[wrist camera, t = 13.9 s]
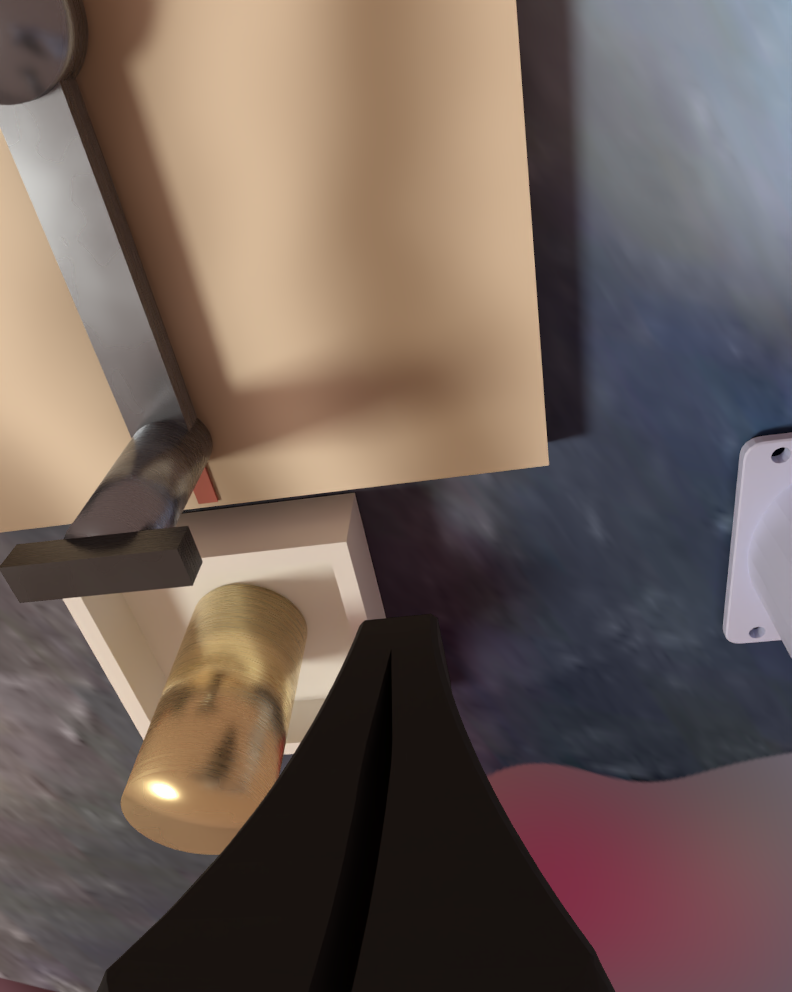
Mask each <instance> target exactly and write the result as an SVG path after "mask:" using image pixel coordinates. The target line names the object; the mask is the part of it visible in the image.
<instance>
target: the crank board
mask: <svg viewBox="0 0 792 992" xmlns="http://www.w3.org/2000/svg"><path fill="white" fill-rule="evenodd" d="M83 4H84V7H85V11H86V16H87V22H88V47H87V53H86V57H85V60H84V64H83V66H82V68H81V70H80V72H79V74H78V75H77V77H76V81H77V83H78V86H79V89H80V92H81V94H82V97H83V100H84V103H85V106H86V108H87V111H88V114H89V117H90V120H91V122H92V125H93V128H94V131H95V134H96V136H97V139H98V142H99V145H100V147H101V150H102V153H103V156H104V159H105V161H106V164H107V167H108V170H109V173H110V175H111V178H112V181H113V184H114V187H115V189H116V192H117V195H118V198H119V200H120V203H121V206H122V209H123V212H124V214H125V217H126V220H127V223H128V226H129V228H130V231H131V234H132V237H133V239H134V242H135V245H136V248H137V251H138V253H139V256H140V259H141V262H142V265H143V267H144V270H145V273H146V276H147V279H148V281H149V284H150V287H151V290H152V292H153V295H154V298H155V301H156V304H157V306H158V309H159V312H160V315H161V318H162V320H163V323H164V326H165V329H166V332H167V334H168V337H169V340H170V343H171V345H172V348H173V351H174V354H175V357H176V359H177V362H178V365H179V368H180V371H181V373H182V376H183V379H184V382H185V384H186V387H187V390H188V393H189V396H190V398H191V401H192V404H193V407H194V410H195V412H196V415H197V418H198V419H200V420H201V421H202V422H203V423H204V424H205V426H206V427H207V429H208V430H209V432H210V434H211V437H212V442H213V449H212V453H211V456H210V458H209V460H208V462H207V464H206V466H205V468H204V470H203V472H202V474H201V476H200V478H199V480H198V482H197V484H196V486H195V488H194V490H193V492H192V494H191V496H190V498H189V500H188V502H187V504H186V506H185V508H184V510H187V509H196V508H204V507H212V506H220V505H228V504H237V503H245V502H253V501H261V500H269V499H277V498H286V497H294V496H302V495H310V494H318V493H327V492H335V491H343V490H351V489H359V488H368V487H376V486H384V485H392V484H400V483H408V482H417V481H425V480H433V479H441V478H449V477H458V476H466V475H474V474H482V473H490V472H498V471H507V470H515V469H523V468H531V467H539V466H548V465H549V458H548V444H547V430H546V416H545V402H544V388H543V374H542V360H541V346H540V332H539V318H538V304H537V290H536V275H535V261H534V247H533V233H532V219H531V205H530V191H529V177H528V163H527V149H526V135H525V121H524V107H523V92H522V78H521V64H520V50H519V36H518V22H517V8H516V0H83ZM131 439H132V438H131V436H130V434H129V431H128V429H127V426H126V424H125V422H124V419H123V417H122V415H121V412H120V410H119V408H118V405H117V403H116V400H115V398H114V396H113V393H112V391H111V389H110V386H109V384H108V381H107V379H106V377H105V374H104V372H103V370H102V367H101V365H100V363H99V360H98V358H97V355H96V353H95V351H94V348H93V346H92V344H91V341H90V339H89V337H88V334H87V332H86V329H85V327H84V325H83V322H82V320H81V318H80V315H79V313H78V311H77V308H76V306H75V303H74V301H73V299H72V296H71V294H70V292H69V289H68V287H67V284H66V282H65V280H64V277H63V275H62V273H61V270H60V268H59V266H58V263H57V261H56V258H55V256H54V254H53V251H52V249H51V247H50V244H49V242H48V240H47V237H46V235H45V232H44V230H43V228H42V225H41V223H40V221H39V218H38V216H37V213H36V211H35V209H34V206H33V204H32V202H31V199H30V197H29V195H28V192H27V190H26V187H25V185H24V183H23V180H22V178H21V176H20V173H19V171H18V169H17V166H16V164H15V161H14V159H13V157H12V154H11V152H10V150H9V147H8V145H7V143H6V140H5V138H4V135H3V133H2V131H1V128H0V532H7V531H16V530H24V529H32V528H40V527H48V526H57V525H65V524H72V523H73V522H74V520H75V519H76V518H77V516H78V515H79V513H80V512H81V510H82V509H83V508H84V506H85V505H86V503H87V502H88V500H89V499H90V498H91V496H92V495H93V493H94V492H95V490H96V489H97V487H98V486H99V485H100V483H101V482H102V480H103V479H104V477H105V476H106V475H107V473H108V472H109V470H110V469H111V467H112V466H113V465H114V463H115V462H116V460H117V459H118V457H119V456H120V455H121V453H122V452H123V450H124V449H125V447H126V446H127V445H128V443H129V442H130V440H131Z"/></svg>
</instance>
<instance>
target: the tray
mask: <svg viewBox="0 0 792 992" xmlns="http://www.w3.org/2000/svg"><path fill="white" fill-rule="evenodd" d="M181 526H189V529H190V531H191V534H192V536H193V539H194V541H195V544H196V546H197V549H198V551H199V554H200V556H201V559H202V561H203V562H202V565H201V567H200V570H199V572H198V574H197V577H196V579H195V582H194V584H193V586H186V587H176V588H165V589H155V590H145V591H135V592H125V593H115V594H105V595H95V596H84V597H74V598H64V599H63V600H64V602H65V604H66V606H67V607H68V609H69V611H70V613H71V614H72V616H73V618H74V620H75V621H76V623H77V625H78V627H79V628H80V630H81V632H82V634H83V635H84V637H85V639H86V641H87V642H88V644H89V646H90V647H91V649H92V651H93V653H94V654H95V656H96V658H97V660H98V661H99V663H100V665H101V667H102V668H103V670H104V672H105V674H106V675H107V677H108V679H109V681H110V682H111V684H112V686H113V688H114V689H115V691H116V693H117V694H118V696H119V698H120V700H121V701H122V703H123V705H124V707H125V708H126V710H127V712H128V714H129V715H130V717H131V719H132V721H133V722H134V724H135V726H136V728H137V729H138V731H139V733H140V735H141V736H142V738H143V740H144V738H145V736H146V733H147V731H148V728H149V725H150V723H151V720H152V718H153V715H154V713H155V710H156V707H157V705H158V702H159V700H160V697H161V694H162V692H163V689H164V687H165V684H166V682H167V679H168V676H169V674H170V671H171V669H172V666H173V663H174V661H175V658H176V656H177V653H178V651H179V648H180V645H181V643H182V640H183V638H184V635H185V632H186V630H187V627H188V625H189V622H190V620H191V617H192V614H193V612H194V609H195V607H196V605H197V603H198V602H199V600H200V599H201V598H202V597H203V596H205V595H206V594H207V593H209V592H211V591H212V590H214V589H217V588H220V587H223V586H228V585H238V584H244V585H254V586H259V587H263V588H266V589H269V590H272V591H274V592H276V593H278V594H280V595H282V596H284V597H285V598H287V599H288V600H289V601H291V602H292V603H293V604H294V605H295V606H296V607H297V608H298V609H299V611H300V612H301V613H302V615H303V617H304V619H305V621H306V625H307V640H306V645H305V650H304V655H303V660H302V665H301V670H300V675H299V680H298V685H297V689H296V694H295V699H294V704H293V709H292V714H291V719H290V724H289V729H288V734H287V739H286V744H285V749H284V754H294V753H295V751H296V749H297V748H298V746H299V744H300V743H301V741H302V739H303V738H304V736H305V734H306V733H307V731H308V729H309V728H310V726H311V724H312V723H313V721H314V719H315V717H316V716H317V714H318V712H319V710H320V708H321V706H322V704H323V703H324V701H325V699H326V697H327V695H328V693H329V691H330V689H331V687H332V685H333V684H334V682H335V680H336V677H337V675H338V673H339V671H340V669H341V667H342V665H343V663H344V661H345V659H346V656H347V654H348V652H349V650H350V647H351V645H352V643H353V640H354V638H355V636H356V633H357V631H358V628H359V626H360V625H361V623H362V622H363V621H364V620H373V619H383V618H386V616H385V612H384V608H383V604H382V600H381V596H380V592H379V588H378V584H377V580H376V576H375V572H374V568H373V564H372V560H371V556H370V552H369V548H368V544H367V540H366V536H365V532H364V528H363V524H362V520H361V516H360V512H359V508H358V504H357V500H356V496H355V493H348V494H339V495H331V496H323V497H315V498H307V499H298V500H290V501H282V502H274V503H265V504H257V505H249V506H241V507H232V508H224V509H216V510H208V511H200V512H191V513H183V514H181V516H180V518H179V520H178V522H177V524H176V526H175V527H181Z"/></svg>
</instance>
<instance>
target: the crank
mask: <svg viewBox="0 0 792 992" xmlns="http://www.w3.org/2000/svg"><path fill="white" fill-rule="evenodd" d="M87 47H88V22H87V16H86V11H85V7H84V4H83V0H0V128H1V131H2V133H3V135H4V138H5V140H6V143H7V145H8V147H9V150H10V152H11V154H12V157H13V159H14V161H15V164H16V166H17V169H18V171H19V173H20V176H21V178H22V180H23V183H24V185H25V187H26V190H27V192H28V195H29V197H30V199H31V202H32V204H33V206H34V209H35V211H36V213H37V216H38V218H39V221H40V223H41V225H42V228H43V230H44V232H45V235H46V237H47V240H48V242H49V244H50V247H51V249H52V251H53V254H54V256H55V258H56V261H57V263H58V266H59V268H60V270H61V273H62V275H63V277H64V280H65V282H66V284H67V287H68V289H69V292H70V294H71V296H72V299H73V301H74V303H75V306H76V308H77V311H78V313H79V315H80V318H81V320H82V322H83V325H84V327H85V329H86V332H87V334H88V337H89V339H90V341H91V344H92V346H93V348H94V351H95V353H96V355H97V358H98V360H99V363H100V365H101V367H102V370H103V372H104V374H105V377H106V379H107V381H108V384H109V386H110V389H111V391H112V393H113V396H114V398H115V400H116V403H117V405H118V408H119V410H120V412H121V415H122V417H123V419H124V422H125V424H126V426H127V429H128V431H129V434H130V436H131V438H132V439H131V440H130V442H129V443H128V445H127V446H126V447H125V449H124V450H123V452H122V453H121V455H120V456H119V457H118V459H117V460H116V462H115V463H114V465H113V466H112V467H111V469H110V470H109V472H108V473H107V475H106V476H105V477H104V479H103V480H102V482H101V483H100V485H99V486H98V487H97V489H96V490H95V492H94V493H93V495H92V496H91V498H90V499H89V500H88V502H87V503H86V505H85V506H84V508H83V509H82V510H81V512H80V513H79V515H78V516H77V518H76V519H75V520H74V522H73V523H72V525H71V526H70V528H69V529H68V530H67V532H66V534H65V538H64V540H54V541H45V542H36V543H27V544H18V545H16V546H15V548H14V549H13V550H12V551H11V553H10V554H9V555H8V557H7V558H6V559H5V560H4V562H3V563H2V564H1V566H0V571H1V573H2V574H3V576H4V578H5V579H6V581H7V583H8V584H9V586H10V588H11V589H12V591H13V592H14V594H15V596H16V597H17V599H18V601H19V602H20V603H24V602H34V601H44V600H54V599H64V598H74V597H84V596H95V595H105V594H115V593H125V592H135V591H145V590H155V589H165V588H176V587H186V586H193V584H194V582H195V579H196V577H197V574H198V572H199V570H200V567H201V565H202V562H203V561H202V559H201V556H200V554H199V551H198V549H197V546H196V544H195V541H194V539H193V536H192V534H191V531H190V529H189V526H181V527H175V526H176V524H177V522H178V520H179V518H180V516H181V514H182V512H183V510H184V508H185V506H186V504H187V502H188V500H189V498H190V496H191V494H192V492H193V490H194V488H195V486H196V484H197V482H198V480H199V478H200V476H201V474H202V472H203V470H204V468H205V466H206V464H207V462H208V460H209V458H210V456H211V453H212V449H213V442H212V437H211V434H210V432H209V430H208V429H207V427H206V426H205V424H204V423H203V422H202V421H201V420H200V419H198V418H197V415H196V412H195V410H194V407H193V404H192V401H191V398H190V396H189V393H188V390H187V387H186V384H185V382H184V379H183V376H182V373H181V371H180V368H179V365H178V362H177V359H176V357H175V354H174V351H173V348H172V345H171V343H170V340H169V337H168V334H167V332H166V329H165V326H164V323H163V320H162V318H161V315H160V312H159V309H158V306H157V304H156V301H155V298H154V295H153V292H152V290H151V287H150V284H149V281H148V279H147V276H146V273H145V270H144V267H143V265H142V262H141V259H140V256H139V253H138V251H137V248H136V245H135V242H134V239H133V237H132V234H131V231H130V228H129V226H128V223H127V220H126V217H125V214H124V212H123V209H122V206H121V203H120V200H119V198H118V195H117V192H116V189H115V187H114V184H113V181H112V178H111V175H110V173H109V170H108V167H107V164H106V161H105V159H104V156H103V153H102V150H101V147H100V145H99V142H98V139H97V136H96V134H95V131H94V128H93V125H92V122H91V120H90V117H89V114H88V111H87V108H86V106H85V103H84V100H83V97H82V94H81V92H80V89H79V86H78V83H77V81H76V77H77V75H78V74H79V72H80V70H81V68H82V66H83V64H84V60H85V57H86V53H87Z"/></svg>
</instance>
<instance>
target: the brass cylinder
mask: <svg viewBox="0 0 792 992" xmlns="http://www.w3.org/2000/svg"><path fill="white" fill-rule="evenodd" d="M306 640H307V625H306V621H305V619H304V617H303V615H302V613H301V612H300V611H299V609H298V608H297V607H296V606H295V605H294V604H293V603H292V602H291V601H289V600H288V599H287V598H285V597H284V596H282V595H280V594H278V593H276V592H274V591H272V590H269V589H266V588H263V587H259V586H254V585H244V584H238V585H228V586H223V587H220V588H217V589H214V590H212V591H211V592H209V593H207V594H206V595H205V596H203V597H202V598H201V599H200V600H199V602H198V603H197V605H196V607H195V609H194V612H193V614H192V617H191V620H190V622H189V625H188V627H187V630H186V632H185V635H184V638H183V640H182V643H181V645H180V648H179V651H178V653H177V656H176V658H175V661H174V663H173V666H172V669H171V671H170V674H169V676H168V679H167V682H166V684H165V687H164V689H163V692H162V694H161V697H160V700H159V702H158V705H157V707H156V710H155V713H154V715H153V718H152V720H151V723H150V725H149V728H148V731H147V733H146V736H145V738H144V741H143V744H142V746H141V749H140V751H139V754H138V756H137V759H136V762H135V764H134V767H133V769H132V772H131V775H130V777H129V780H128V782H127V785H126V787H125V790H124V793H123V795H122V798H121V809H122V811H123V814H124V816H125V818H126V819H127V821H128V822H129V823H130V824H131V825H132V826H133V827H134V828H135V829H136V830H137V831H139V832H140V833H141V834H143V835H144V836H146V837H147V838H149V839H151V840H153V841H155V842H157V843H159V844H162V845H164V846H167V847H170V848H173V849H176V850H180V851H184V852H190V853H196V854H208V855H218V854H221V852H222V851H223V850H224V849H225V848H226V846H227V845H228V844H229V843H230V842H231V840H232V839H233V838H234V837H235V835H236V834H237V833H238V832H239V830H240V829H241V828H242V826H243V825H244V824H245V823H246V821H247V820H248V819H249V817H250V816H251V815H252V814H253V812H254V811H255V810H256V808H257V807H258V806H259V804H260V803H261V802H262V800H263V799H264V797H265V796H266V795H267V793H268V792H269V790H270V789H271V788H272V786H273V785H274V783H275V782H276V780H277V779H278V778H279V774H280V769H281V764H282V759H283V754H284V749H285V744H286V739H287V734H288V729H289V724H290V719H291V714H292V709H293V704H294V699H295V694H296V689H297V685H298V680H299V675H300V670H301V665H302V660H303V655H304V650H305V645H306Z"/></svg>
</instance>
